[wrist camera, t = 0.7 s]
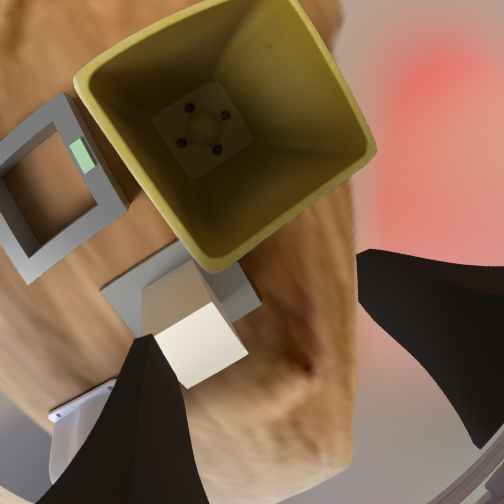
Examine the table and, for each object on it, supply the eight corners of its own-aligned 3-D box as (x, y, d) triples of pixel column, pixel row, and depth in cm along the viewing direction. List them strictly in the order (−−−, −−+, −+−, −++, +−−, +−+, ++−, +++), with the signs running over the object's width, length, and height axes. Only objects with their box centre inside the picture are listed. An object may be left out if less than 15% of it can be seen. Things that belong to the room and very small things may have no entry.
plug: (173, 331, 20) (187, 388, 15) (141, 290, 18) (142, 343, 13) (220, 303, 21) (248, 353, 15) (192, 258, 19) (211, 301, 14)
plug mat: (161, 361, 21) (162, 364, 21) (100, 289, 18) (99, 291, 17) (260, 302, 22) (262, 304, 22) (212, 218, 19) (214, 219, 19)
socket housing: (39, 269, 16) (26, 286, 13) (-16, 173, 12) (-36, 177, 10) (130, 204, 17) (127, 212, 14) (73, 98, 13) (61, 90, 11)
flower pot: (103, 112, 14) (65, 75, 6) (223, 42, 15) (282, -26, 7) (181, 224, 18) (211, 281, 10) (289, 149, 19) (382, 154, 11)
